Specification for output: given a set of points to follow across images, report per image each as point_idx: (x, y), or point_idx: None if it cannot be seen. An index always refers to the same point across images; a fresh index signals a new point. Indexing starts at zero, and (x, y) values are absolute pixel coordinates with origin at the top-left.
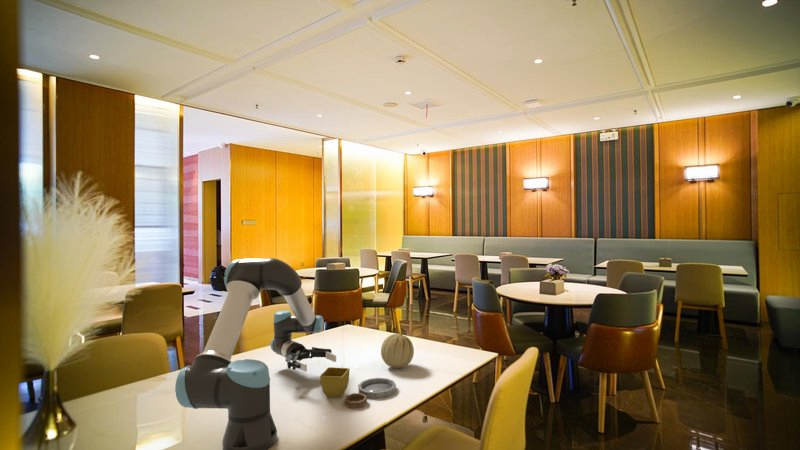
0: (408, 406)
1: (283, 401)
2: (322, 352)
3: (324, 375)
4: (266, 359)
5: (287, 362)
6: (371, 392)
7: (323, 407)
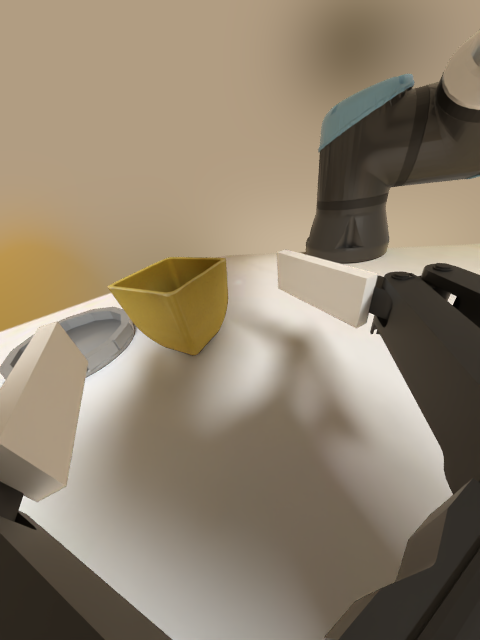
0: (98, 297)
1: (353, 328)
2: (5, 525)
3: (208, 280)
4: None
5: (454, 270)
6: (118, 309)
7: (235, 301)
